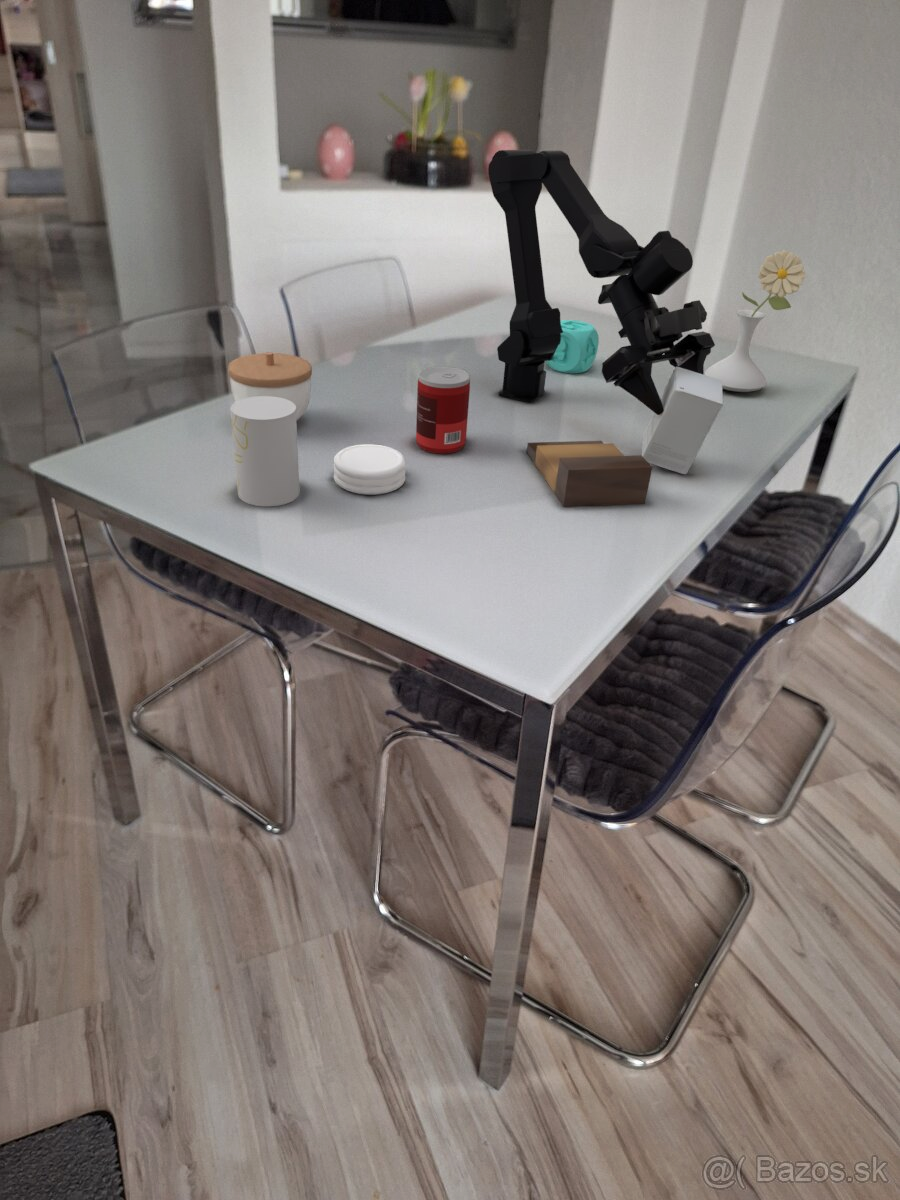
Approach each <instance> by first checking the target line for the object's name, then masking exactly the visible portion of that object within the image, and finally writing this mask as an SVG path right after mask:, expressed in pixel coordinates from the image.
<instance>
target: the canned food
mask: <svg viewBox="0 0 900 1200" xmlns="http://www.w3.org/2000/svg"><path fill="white" fill-rule="evenodd" d="M416 389H417V390H416V391H417V393H416V395H417V396H416V397H417V398H416V421H415V422H416V425H415V441H416V444H417V446H418V448H420V449H421V450H423V451H424V452H428V453H432V454H441V455H442V454H453V453H456V452H458V451H461V450H462V449H463V448H464V447H465V444H466V441H467V431H468V430H467V429H468V419H469V403H470V391H471V390H470V389H471V374H469V372H467V371H465V370H463V369H461V368H457V367H452V366H432V367H427V368H425V369H421V370H420V371H419V373H418V375H417V388H416Z"/></svg>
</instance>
